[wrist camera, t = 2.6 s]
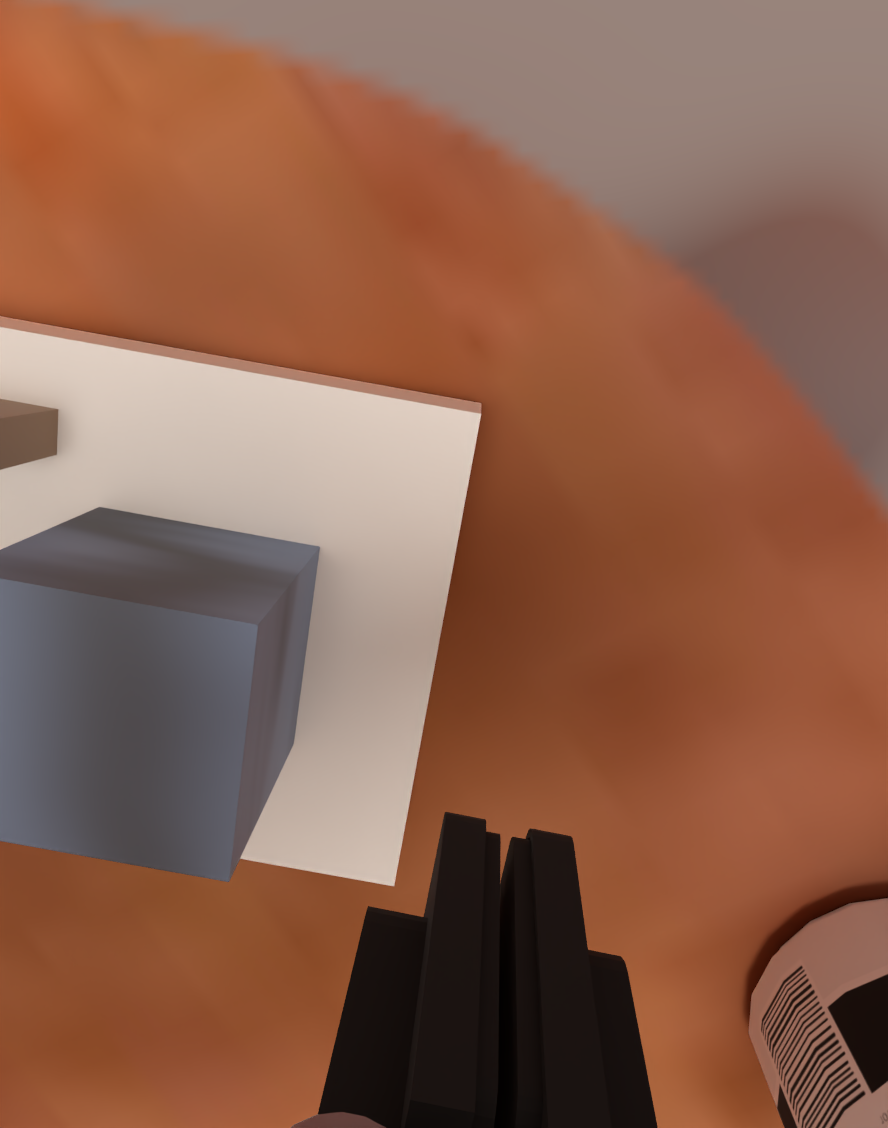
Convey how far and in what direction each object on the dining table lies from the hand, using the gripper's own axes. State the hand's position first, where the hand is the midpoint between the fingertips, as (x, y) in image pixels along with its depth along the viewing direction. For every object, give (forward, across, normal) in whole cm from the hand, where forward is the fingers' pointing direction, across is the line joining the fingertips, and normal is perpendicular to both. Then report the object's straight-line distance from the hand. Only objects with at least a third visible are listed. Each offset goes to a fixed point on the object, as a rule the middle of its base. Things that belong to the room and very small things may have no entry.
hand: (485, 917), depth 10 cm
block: (+8, +7, 0) cm, 11 cm away
